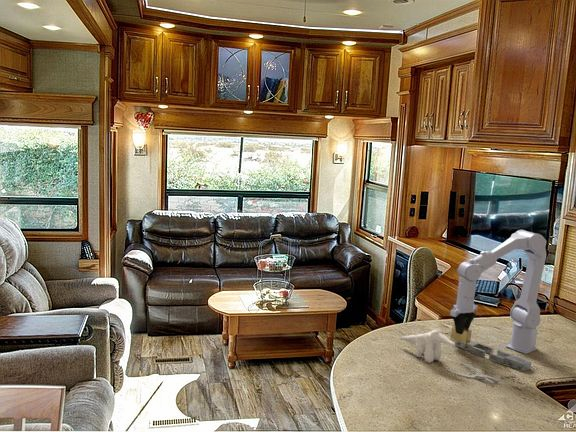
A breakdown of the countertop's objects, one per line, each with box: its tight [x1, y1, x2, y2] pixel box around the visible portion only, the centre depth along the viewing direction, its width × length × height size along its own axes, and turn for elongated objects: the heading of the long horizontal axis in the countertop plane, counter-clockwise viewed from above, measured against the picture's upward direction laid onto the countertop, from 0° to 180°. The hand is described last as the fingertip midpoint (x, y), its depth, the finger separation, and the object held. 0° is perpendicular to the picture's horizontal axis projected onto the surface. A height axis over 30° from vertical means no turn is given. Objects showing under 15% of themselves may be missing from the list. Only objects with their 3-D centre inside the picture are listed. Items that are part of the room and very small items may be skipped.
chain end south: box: [454, 339, 494, 358], centre depth 188 cm, size 6×12×2 cm, turn 40°
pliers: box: [445, 362, 500, 387], centre depth 166 cm, size 10×2×15 cm
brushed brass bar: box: [450, 325, 472, 344], centre depth 187 cm, size 3×6×4 cm, turn 41°
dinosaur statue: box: [397, 328, 455, 363], centre depth 177 cm, size 7×24×11 cm, turn 36°
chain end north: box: [488, 349, 533, 373], centre depth 177 cm, size 6×12×2 cm, turn 40°
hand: (461, 332), depth 187 cm, fingers closed on brushed brass bar, 3 cm apart
